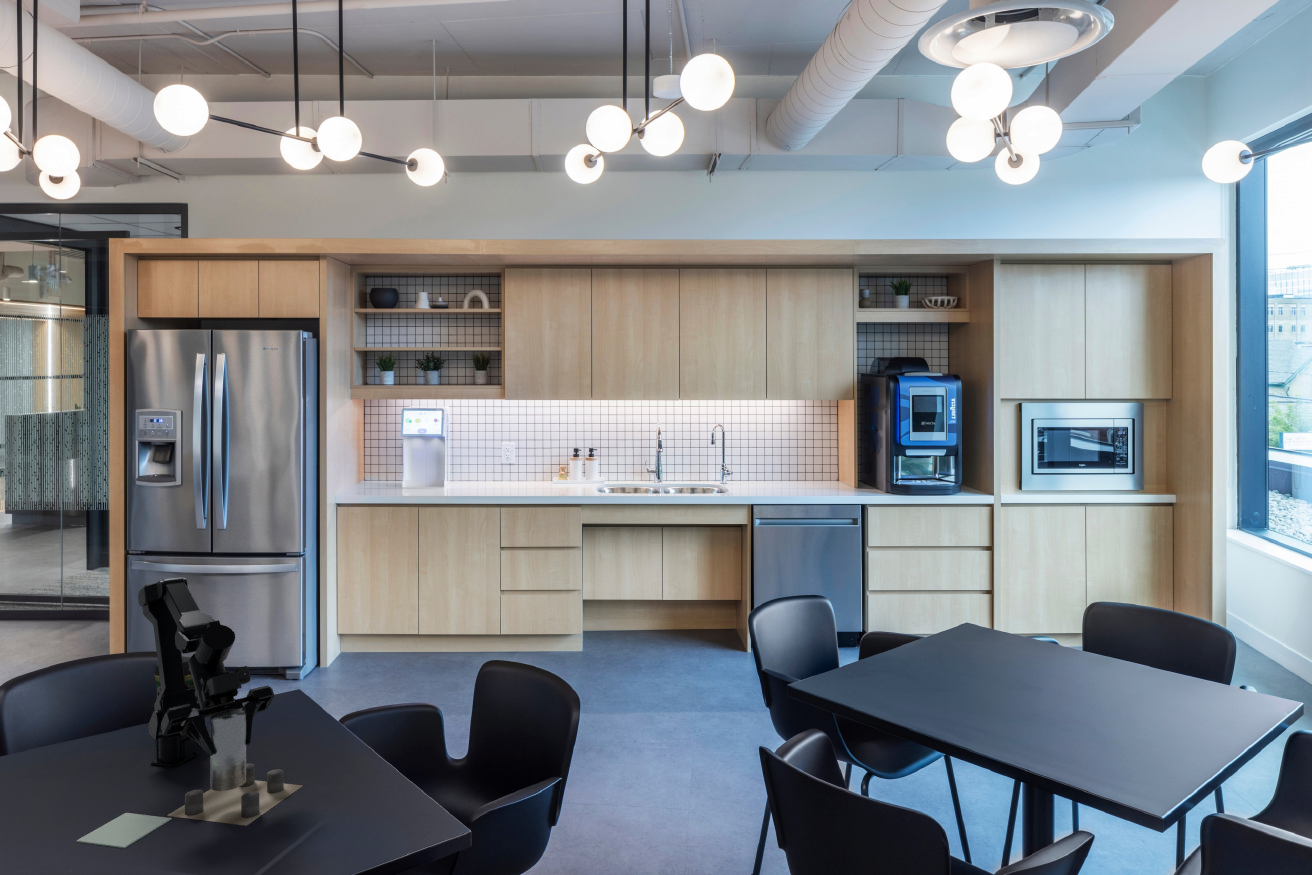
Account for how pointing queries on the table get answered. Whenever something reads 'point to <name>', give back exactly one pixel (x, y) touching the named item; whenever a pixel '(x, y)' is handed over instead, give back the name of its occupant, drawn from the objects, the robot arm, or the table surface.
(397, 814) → the table surface
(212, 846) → the table surface
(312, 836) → the table surface
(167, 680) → the robot arm
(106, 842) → the sage pad
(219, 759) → the clear upright cylinder
